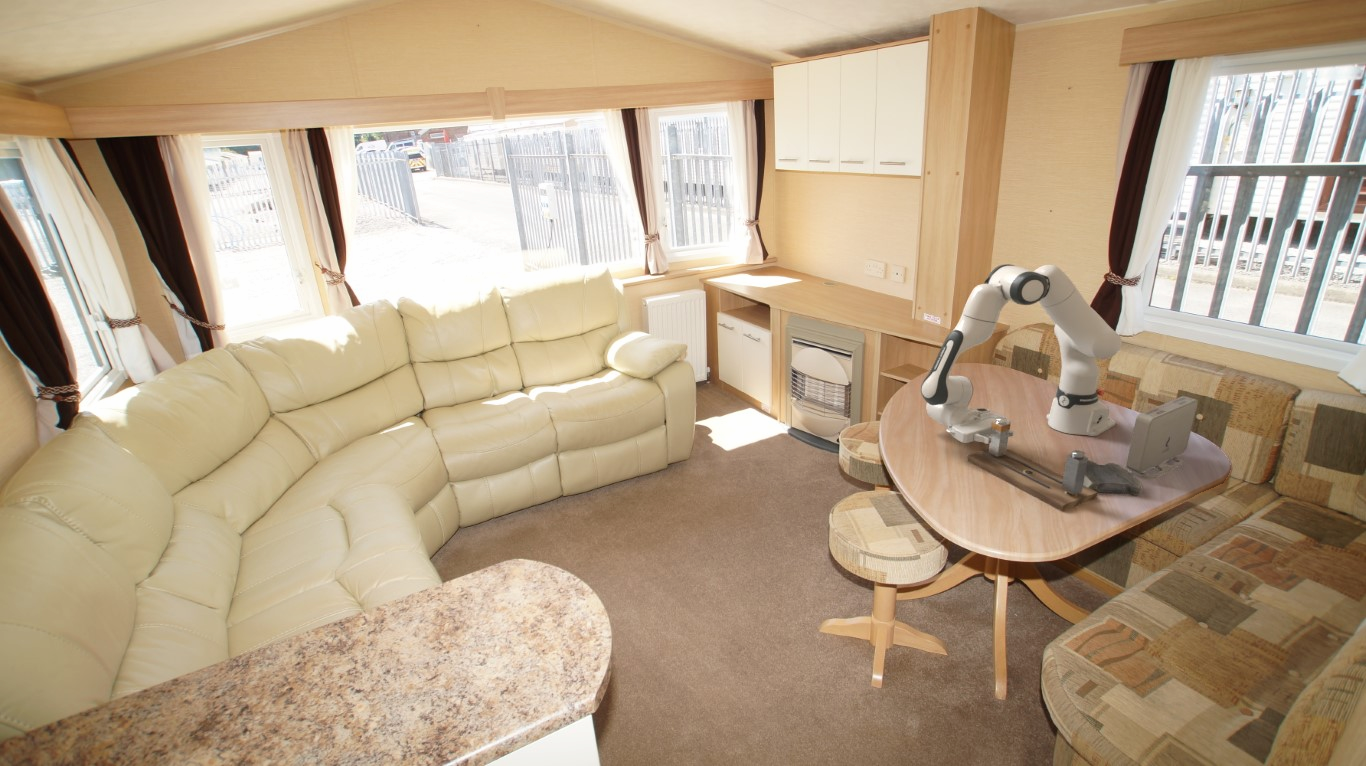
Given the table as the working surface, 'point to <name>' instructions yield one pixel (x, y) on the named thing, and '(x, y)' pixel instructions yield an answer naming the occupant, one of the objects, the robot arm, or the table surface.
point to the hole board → (1031, 478)
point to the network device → (1161, 436)
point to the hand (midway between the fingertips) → (1000, 437)
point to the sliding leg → (999, 436)
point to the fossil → (1110, 479)
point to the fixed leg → (1074, 472)
